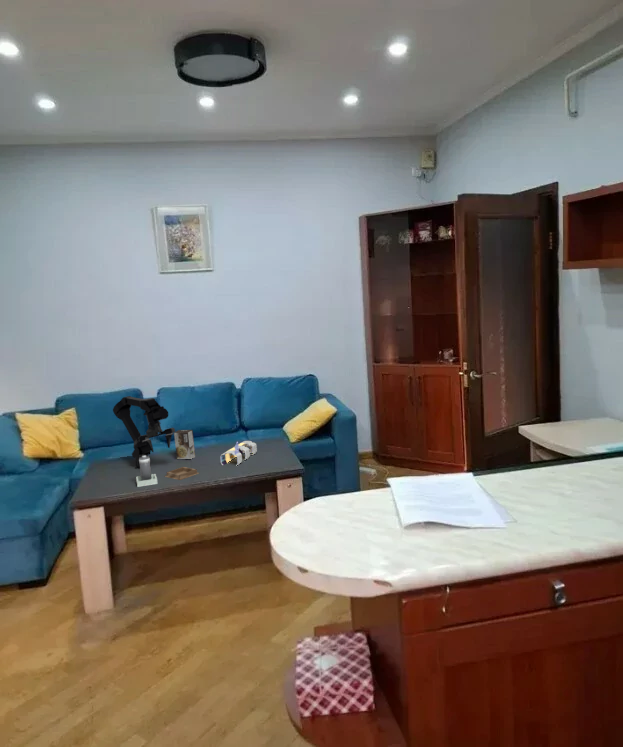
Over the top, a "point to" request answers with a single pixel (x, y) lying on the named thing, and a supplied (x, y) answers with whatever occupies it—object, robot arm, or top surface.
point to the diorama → (239, 452)
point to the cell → (145, 468)
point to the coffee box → (184, 444)
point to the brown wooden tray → (181, 473)
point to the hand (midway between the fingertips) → (161, 450)
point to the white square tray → (146, 481)
